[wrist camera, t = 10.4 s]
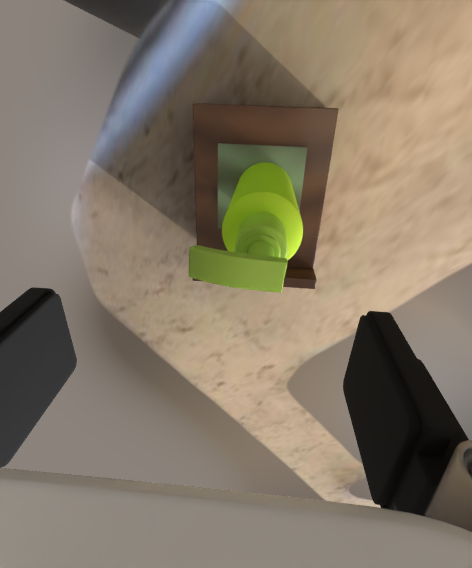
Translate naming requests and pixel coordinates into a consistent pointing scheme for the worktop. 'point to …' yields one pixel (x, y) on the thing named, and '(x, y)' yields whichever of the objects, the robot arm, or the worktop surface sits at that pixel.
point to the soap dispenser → (254, 234)
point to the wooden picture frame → (257, 149)
